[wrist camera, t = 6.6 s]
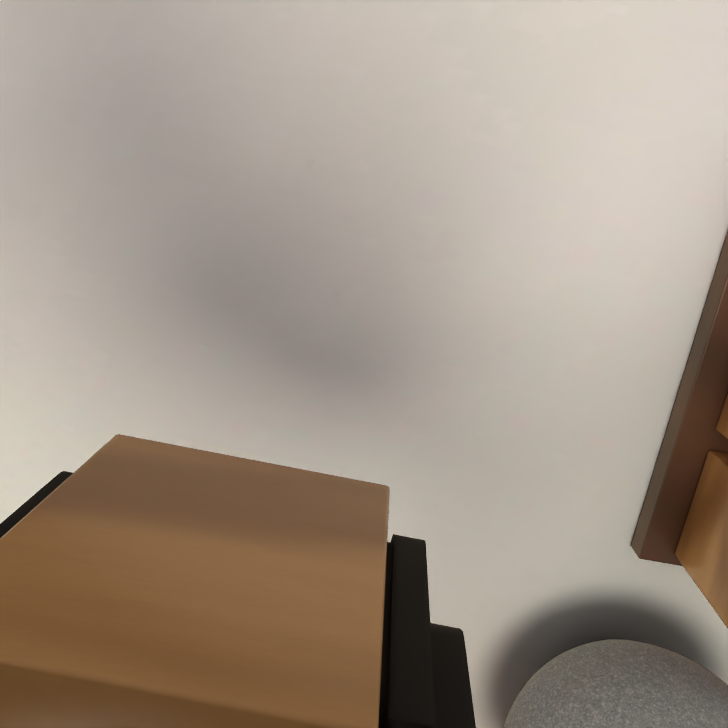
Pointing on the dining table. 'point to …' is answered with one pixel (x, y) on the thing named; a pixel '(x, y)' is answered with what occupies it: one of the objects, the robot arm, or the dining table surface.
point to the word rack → (696, 462)
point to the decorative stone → (620, 690)
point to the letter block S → (194, 596)
